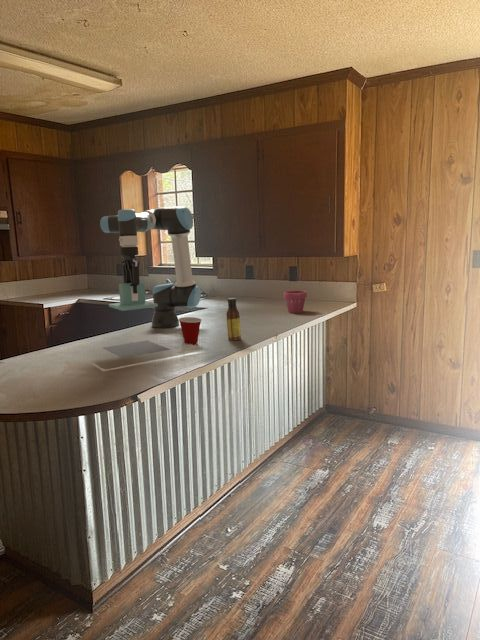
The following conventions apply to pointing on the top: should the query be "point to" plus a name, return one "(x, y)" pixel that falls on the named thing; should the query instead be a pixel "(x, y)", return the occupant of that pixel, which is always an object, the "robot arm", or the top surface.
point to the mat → (135, 348)
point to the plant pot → (295, 300)
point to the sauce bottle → (233, 320)
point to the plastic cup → (190, 329)
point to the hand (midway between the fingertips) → (132, 300)
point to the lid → (126, 298)
